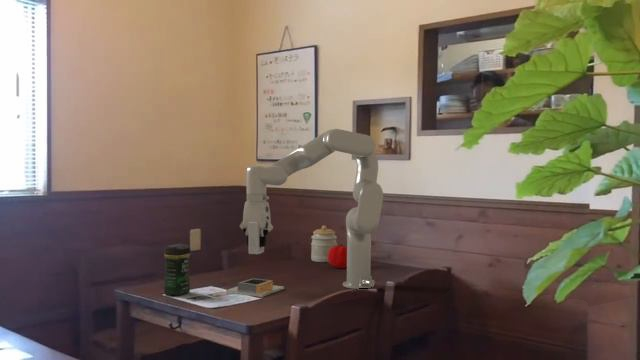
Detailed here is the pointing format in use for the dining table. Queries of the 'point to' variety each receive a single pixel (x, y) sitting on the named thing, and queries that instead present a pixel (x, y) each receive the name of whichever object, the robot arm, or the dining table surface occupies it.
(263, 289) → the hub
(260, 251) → the skincare box
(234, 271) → the dining table surface
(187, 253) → the coffee jar
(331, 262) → the tomato
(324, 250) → the jar
